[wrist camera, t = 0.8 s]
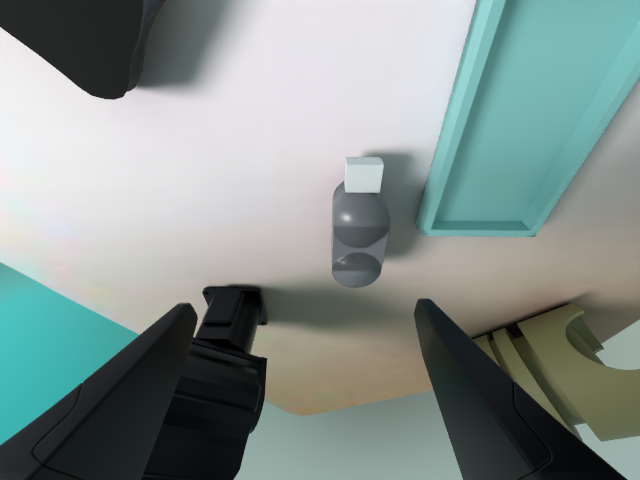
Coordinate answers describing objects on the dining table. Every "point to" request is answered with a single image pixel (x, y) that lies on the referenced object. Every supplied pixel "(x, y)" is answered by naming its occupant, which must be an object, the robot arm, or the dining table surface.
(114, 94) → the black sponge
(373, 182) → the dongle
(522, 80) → the tray
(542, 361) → the piston
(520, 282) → the dining table surface
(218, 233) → the dining table surface
